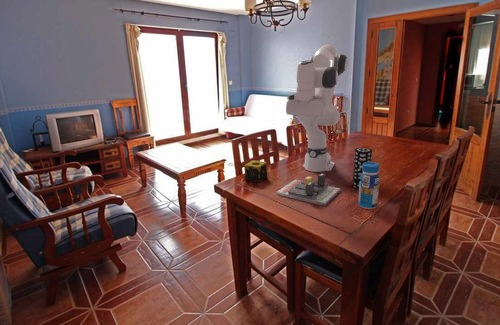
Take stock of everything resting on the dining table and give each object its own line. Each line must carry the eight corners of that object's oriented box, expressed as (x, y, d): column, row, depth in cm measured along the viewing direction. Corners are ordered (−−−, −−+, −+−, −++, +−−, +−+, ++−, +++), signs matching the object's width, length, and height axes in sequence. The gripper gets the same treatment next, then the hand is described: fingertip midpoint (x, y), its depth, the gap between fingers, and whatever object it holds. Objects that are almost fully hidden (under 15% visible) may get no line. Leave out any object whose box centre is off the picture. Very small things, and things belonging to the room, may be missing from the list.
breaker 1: (307, 185, 151) (307, 175, 149) (312, 186, 150) (312, 176, 148) (304, 187, 148) (304, 178, 147) (309, 188, 147) (309, 178, 145)
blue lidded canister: (354, 202, 137) (357, 161, 131) (372, 200, 138) (375, 160, 132) (362, 210, 129) (365, 167, 123) (381, 208, 130) (385, 166, 124)
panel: (295, 181, 165) (295, 177, 164) (339, 191, 150) (340, 185, 149) (276, 194, 150) (276, 189, 149) (324, 206, 135) (324, 200, 134)
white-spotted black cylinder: (349, 184, 158) (351, 149, 151) (361, 182, 160) (364, 147, 154) (359, 190, 150) (362, 152, 144) (372, 187, 153) (375, 150, 147)
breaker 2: (308, 191, 143) (309, 181, 142) (313, 192, 142) (313, 182, 140) (305, 194, 141) (305, 184, 139) (310, 195, 139) (310, 185, 138)
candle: (253, 175, 179) (252, 159, 176) (267, 177, 174) (267, 161, 171) (244, 180, 171) (243, 164, 168) (259, 183, 166) (258, 166, 163)
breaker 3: (320, 182, 154) (320, 173, 152) (324, 183, 153) (325, 173, 151) (317, 184, 151) (317, 175, 150) (322, 185, 150) (322, 176, 148)
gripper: (328, 95, 136) (327, 125, 140) (290, 95, 148) (290, 122, 152) (323, 96, 131) (322, 127, 135) (284, 96, 143) (284, 124, 147)
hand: (305, 124), depth 144 cm, fingers open, 8 cm apart
